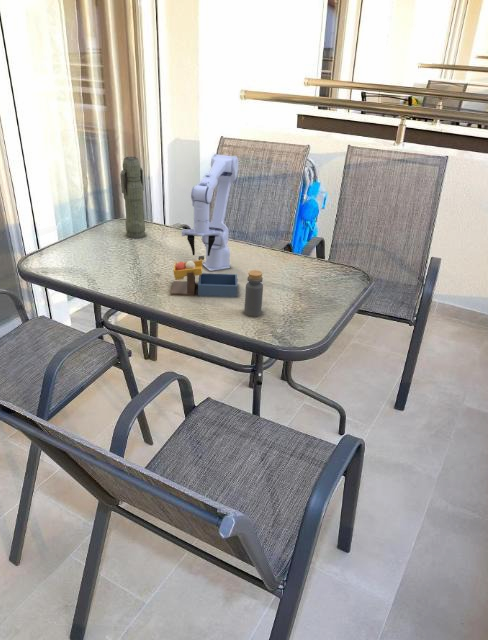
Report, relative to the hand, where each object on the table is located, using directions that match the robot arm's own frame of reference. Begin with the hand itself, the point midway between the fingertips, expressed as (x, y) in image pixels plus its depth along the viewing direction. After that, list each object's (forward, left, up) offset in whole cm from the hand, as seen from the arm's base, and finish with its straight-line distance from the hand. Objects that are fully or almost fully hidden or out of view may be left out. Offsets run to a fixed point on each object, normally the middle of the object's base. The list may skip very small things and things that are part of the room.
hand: (201, 254), depth 193 cm
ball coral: (+11, +5, -2) cm, 12 cm away
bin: (-2, +11, -10) cm, 15 cm away
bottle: (-5, +33, -11) cm, 35 cm away
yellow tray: (+6, +4, -5) cm, 8 cm away
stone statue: (+7, -61, -11) cm, 62 cm away
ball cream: (+7, +7, -1) cm, 10 cm away
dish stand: (+10, +6, -10) cm, 15 cm away
